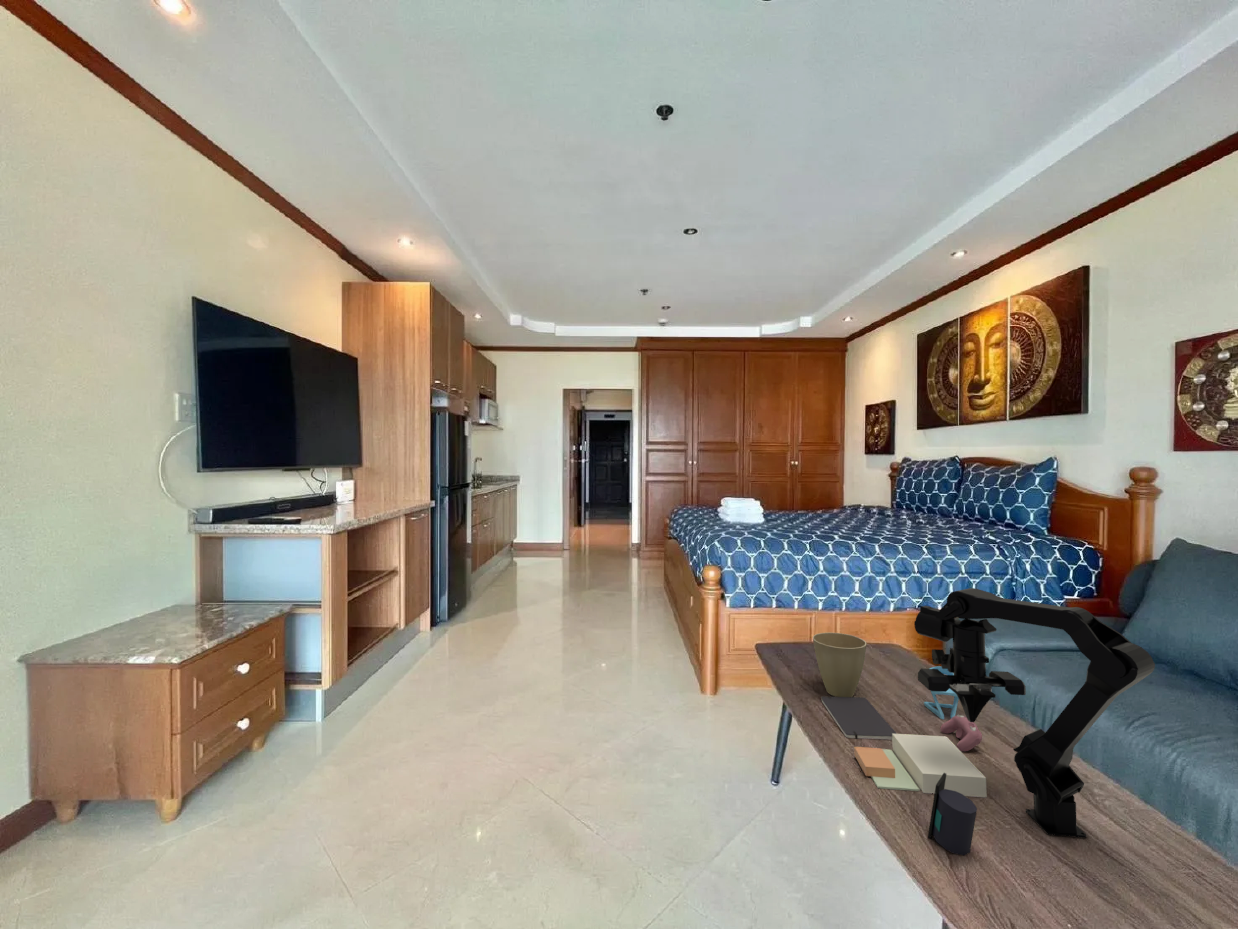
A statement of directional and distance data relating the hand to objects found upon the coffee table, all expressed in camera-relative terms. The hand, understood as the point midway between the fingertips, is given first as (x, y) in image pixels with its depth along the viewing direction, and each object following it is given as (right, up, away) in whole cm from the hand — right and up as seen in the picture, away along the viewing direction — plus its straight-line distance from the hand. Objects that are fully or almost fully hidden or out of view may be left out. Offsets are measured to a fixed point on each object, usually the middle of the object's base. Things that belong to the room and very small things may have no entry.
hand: (970, 721), depth 107 cm
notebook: (-11, -14, +28) cm, 33 cm away
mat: (-16, -13, +5) cm, 21 cm away
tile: (-18, -11, +6) cm, 22 cm away
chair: (+14, -14, +30) cm, 36 cm away
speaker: (-15, -13, -17) cm, 27 cm away
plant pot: (-9, -14, +43) cm, 47 cm away
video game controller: (+9, -13, +15) cm, 22 cm away
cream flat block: (-5, -13, +4) cm, 15 cm away
